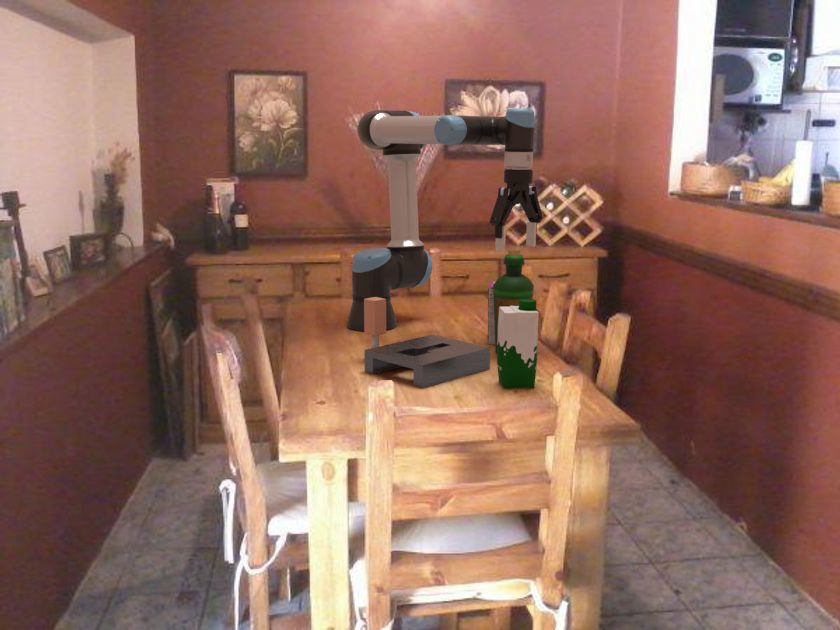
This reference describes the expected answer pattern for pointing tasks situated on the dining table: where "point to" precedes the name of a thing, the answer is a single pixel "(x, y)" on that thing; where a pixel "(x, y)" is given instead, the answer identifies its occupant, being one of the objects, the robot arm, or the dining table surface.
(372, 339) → the keyhole peg
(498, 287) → the bottle
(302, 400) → the dining table surface
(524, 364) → the milk carton
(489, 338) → the candy bar box
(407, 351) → the keyhole bracket
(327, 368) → the dining table surface
